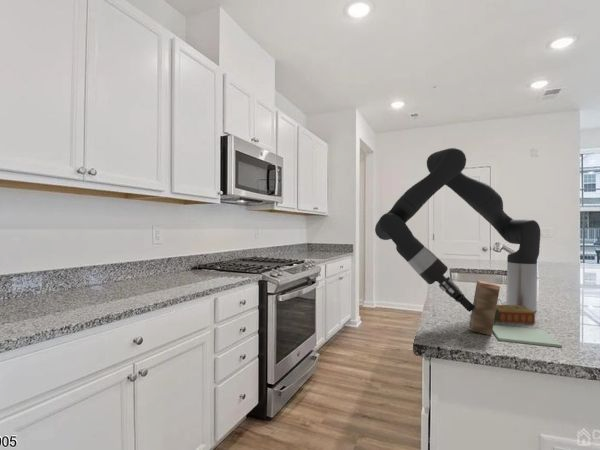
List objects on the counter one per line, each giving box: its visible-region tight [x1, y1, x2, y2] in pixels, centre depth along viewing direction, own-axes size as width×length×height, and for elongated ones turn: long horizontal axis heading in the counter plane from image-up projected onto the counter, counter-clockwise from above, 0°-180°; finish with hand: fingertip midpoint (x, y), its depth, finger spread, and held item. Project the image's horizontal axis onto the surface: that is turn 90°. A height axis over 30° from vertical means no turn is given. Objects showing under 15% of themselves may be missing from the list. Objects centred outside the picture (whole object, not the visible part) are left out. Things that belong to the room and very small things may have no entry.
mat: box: [492, 324, 563, 348], centre depth 93 cm, size 14×13×1 cm
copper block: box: [469, 279, 501, 336], centre depth 96 cm, size 5×5×14 cm
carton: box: [494, 304, 536, 324], centre depth 111 cm, size 8×16×4 cm, turn 80°
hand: (471, 309), depth 97 cm, fingers closed
